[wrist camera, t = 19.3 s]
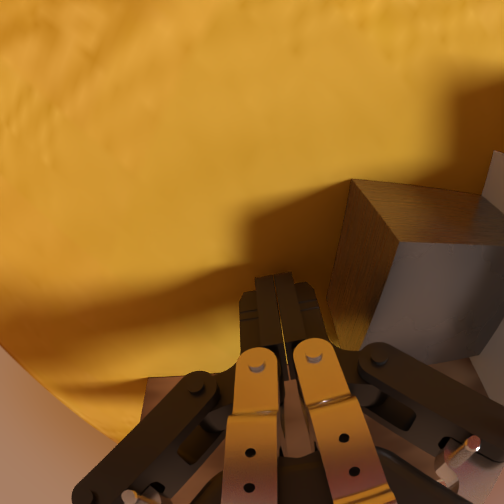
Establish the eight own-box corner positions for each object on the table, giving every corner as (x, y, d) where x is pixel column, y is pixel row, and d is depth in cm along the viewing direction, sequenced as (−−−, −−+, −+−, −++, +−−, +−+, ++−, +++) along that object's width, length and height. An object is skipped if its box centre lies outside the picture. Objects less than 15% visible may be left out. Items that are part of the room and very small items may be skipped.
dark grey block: (481, 195, 12) (540, 248, 8) (442, 294, 15) (479, 355, 12) (351, 178, 12) (399, 241, 8) (326, 298, 15) (348, 375, 11)
